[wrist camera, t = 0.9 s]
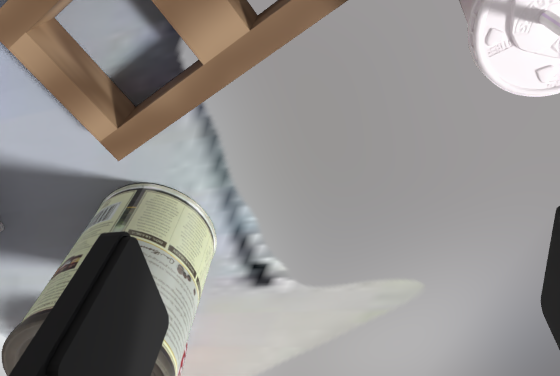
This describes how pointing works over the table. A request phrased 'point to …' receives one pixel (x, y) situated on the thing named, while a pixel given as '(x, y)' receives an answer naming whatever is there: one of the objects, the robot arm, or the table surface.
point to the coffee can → (159, 256)
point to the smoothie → (516, 43)
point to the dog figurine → (1, 226)
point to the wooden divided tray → (175, 94)
